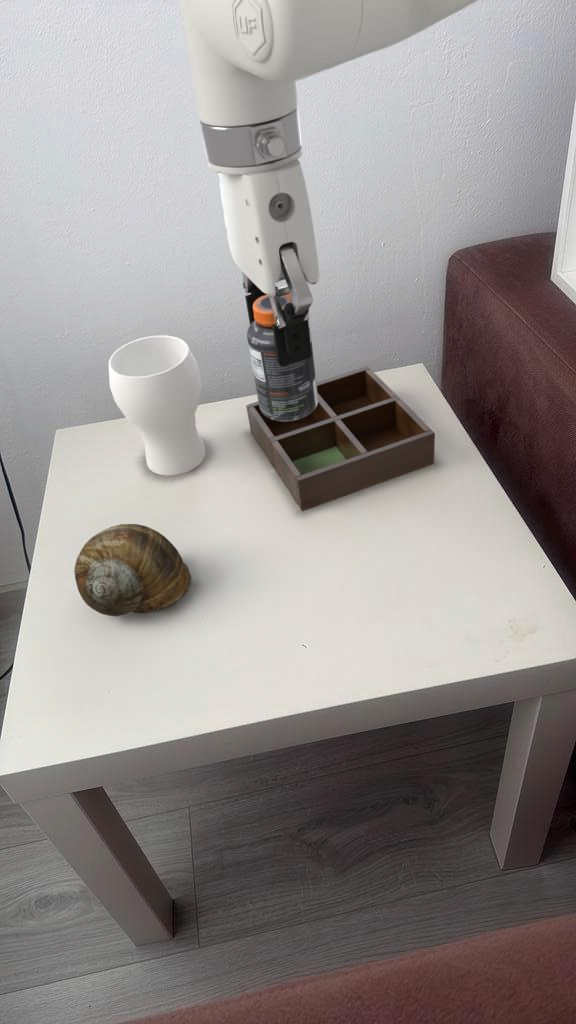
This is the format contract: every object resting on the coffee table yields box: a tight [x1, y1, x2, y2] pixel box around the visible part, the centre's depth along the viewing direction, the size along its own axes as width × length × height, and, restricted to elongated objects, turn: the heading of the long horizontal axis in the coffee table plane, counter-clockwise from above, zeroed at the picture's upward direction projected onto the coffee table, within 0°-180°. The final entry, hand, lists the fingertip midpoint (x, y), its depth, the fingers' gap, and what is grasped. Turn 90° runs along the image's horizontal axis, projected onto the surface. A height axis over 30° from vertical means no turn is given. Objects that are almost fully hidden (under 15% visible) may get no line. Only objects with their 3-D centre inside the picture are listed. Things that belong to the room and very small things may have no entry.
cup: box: [108, 334, 207, 477], centre depth 90 cm, size 11×11×15 cm
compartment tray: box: [245, 365, 436, 512], centre depth 91 cm, size 17×17×5 cm
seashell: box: [73, 523, 192, 617], centre depth 76 cm, size 11×9×8 cm
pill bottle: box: [246, 294, 318, 421], centre depth 70 cm, size 6×6×11 cm
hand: (280, 343), depth 69 cm, fingers closed on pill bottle, 6 cm apart
